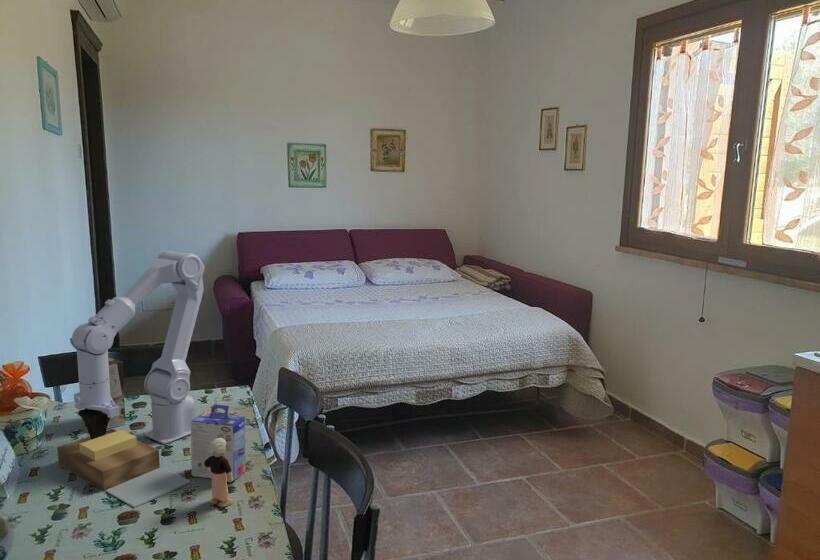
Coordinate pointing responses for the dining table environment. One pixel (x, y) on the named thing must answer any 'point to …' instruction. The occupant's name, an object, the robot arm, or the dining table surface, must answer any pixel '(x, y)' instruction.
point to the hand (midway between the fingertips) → (98, 440)
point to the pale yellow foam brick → (108, 445)
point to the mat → (147, 487)
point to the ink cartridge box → (209, 430)
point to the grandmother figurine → (219, 472)
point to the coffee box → (116, 391)
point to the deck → (109, 463)
